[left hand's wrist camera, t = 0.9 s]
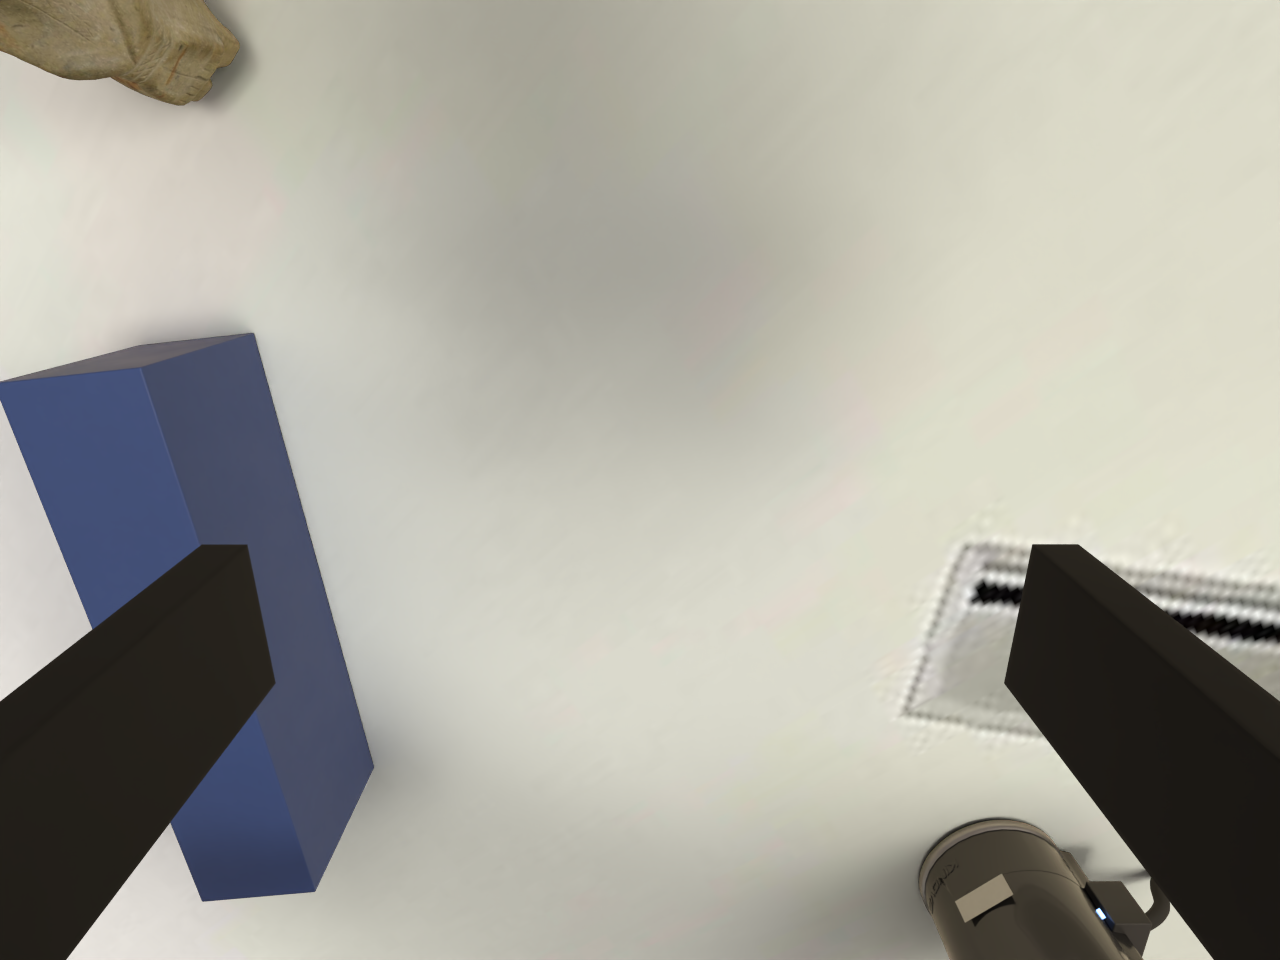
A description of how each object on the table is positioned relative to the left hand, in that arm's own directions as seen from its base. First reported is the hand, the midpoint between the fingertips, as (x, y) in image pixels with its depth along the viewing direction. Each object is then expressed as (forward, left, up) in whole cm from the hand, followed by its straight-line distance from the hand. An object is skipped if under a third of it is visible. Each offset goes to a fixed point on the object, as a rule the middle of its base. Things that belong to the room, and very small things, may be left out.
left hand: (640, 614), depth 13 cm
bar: (+16, -19, -27) cm, 36 cm away
